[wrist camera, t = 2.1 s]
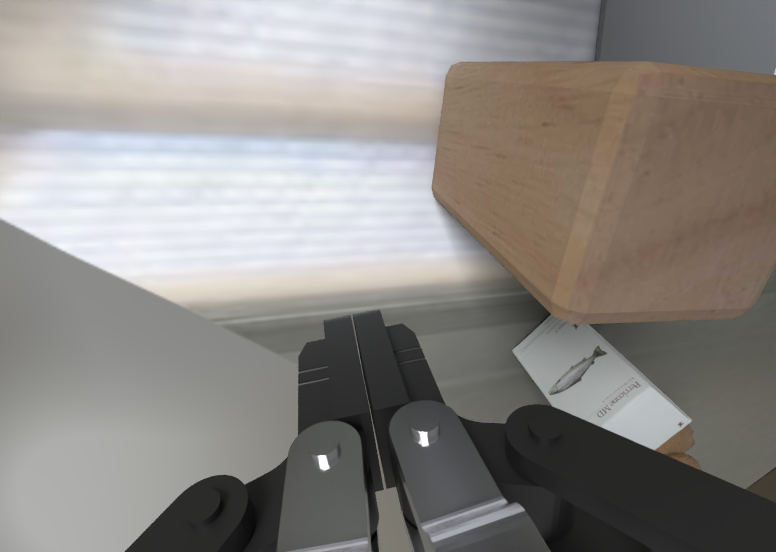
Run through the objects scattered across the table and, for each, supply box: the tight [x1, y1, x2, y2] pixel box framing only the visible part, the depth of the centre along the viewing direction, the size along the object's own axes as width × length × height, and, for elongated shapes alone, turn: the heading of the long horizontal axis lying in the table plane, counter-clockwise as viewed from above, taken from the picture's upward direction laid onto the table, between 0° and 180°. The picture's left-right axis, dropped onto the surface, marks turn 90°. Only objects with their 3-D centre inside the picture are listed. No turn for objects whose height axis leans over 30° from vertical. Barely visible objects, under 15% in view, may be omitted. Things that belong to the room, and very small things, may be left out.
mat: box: [595, 0, 776, 75], centre depth 35 cm, size 24×16×1 cm, turn 6°
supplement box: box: [512, 314, 692, 450], centre depth 39 cm, size 7×7×13 cm
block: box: [432, 61, 776, 324], centre depth 25 cm, size 10×10×20 cm
